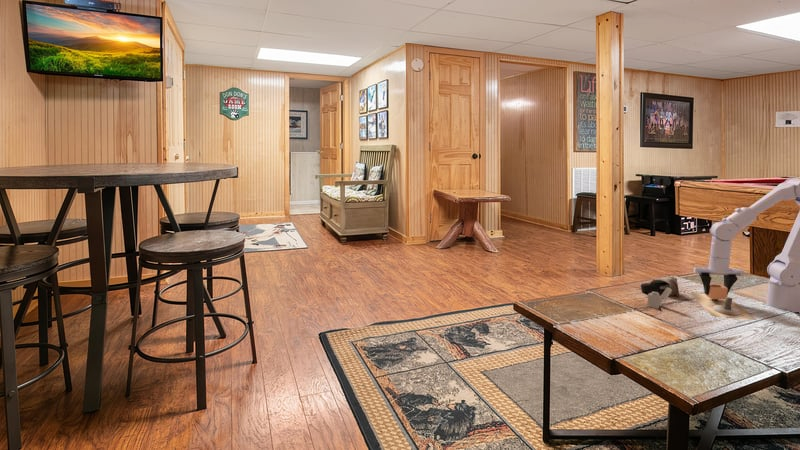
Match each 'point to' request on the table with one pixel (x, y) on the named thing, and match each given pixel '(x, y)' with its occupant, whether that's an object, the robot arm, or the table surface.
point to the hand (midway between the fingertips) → (715, 294)
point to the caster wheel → (662, 286)
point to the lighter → (657, 298)
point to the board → (722, 307)
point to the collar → (717, 291)
